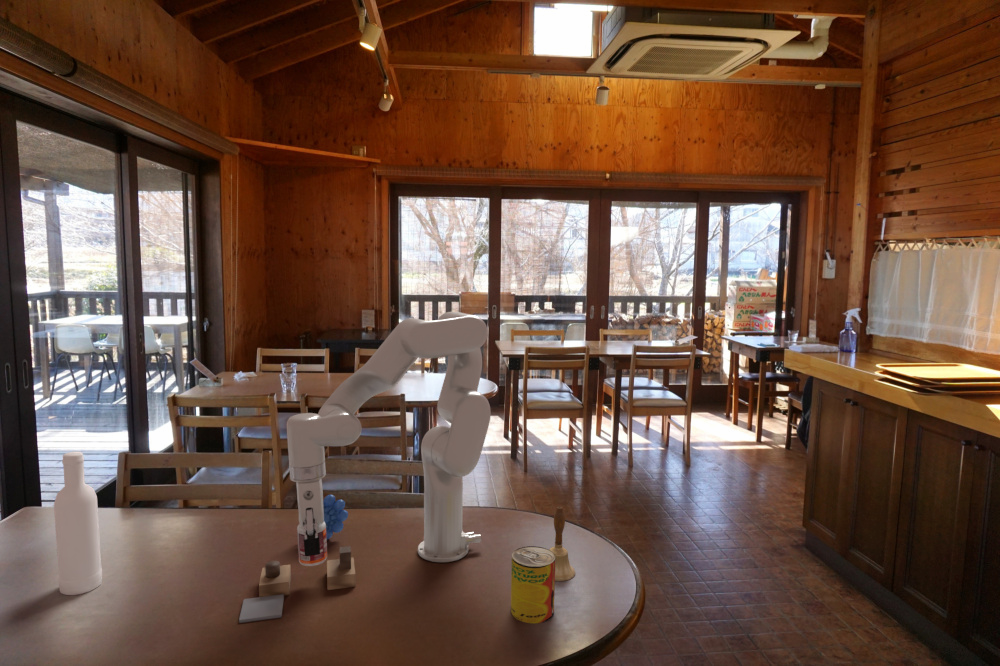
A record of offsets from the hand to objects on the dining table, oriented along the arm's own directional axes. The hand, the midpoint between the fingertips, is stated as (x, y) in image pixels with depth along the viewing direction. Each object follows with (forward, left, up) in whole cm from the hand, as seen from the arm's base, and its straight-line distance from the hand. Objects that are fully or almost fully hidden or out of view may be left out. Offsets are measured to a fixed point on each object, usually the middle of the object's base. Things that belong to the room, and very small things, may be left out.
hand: (312, 546), depth 138 cm
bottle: (+49, -11, -9) cm, 51 cm away
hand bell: (-55, +9, -9) cm, 56 cm away
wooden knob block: (+1, 0, -8) cm, 8 cm away
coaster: (+10, +9, -8) cm, 16 cm away
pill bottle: (0, 0, -3) cm, 3 cm away
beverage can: (-44, +23, -9) cm, 50 cm away
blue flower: (-3, -23, -9) cm, 25 cm away
